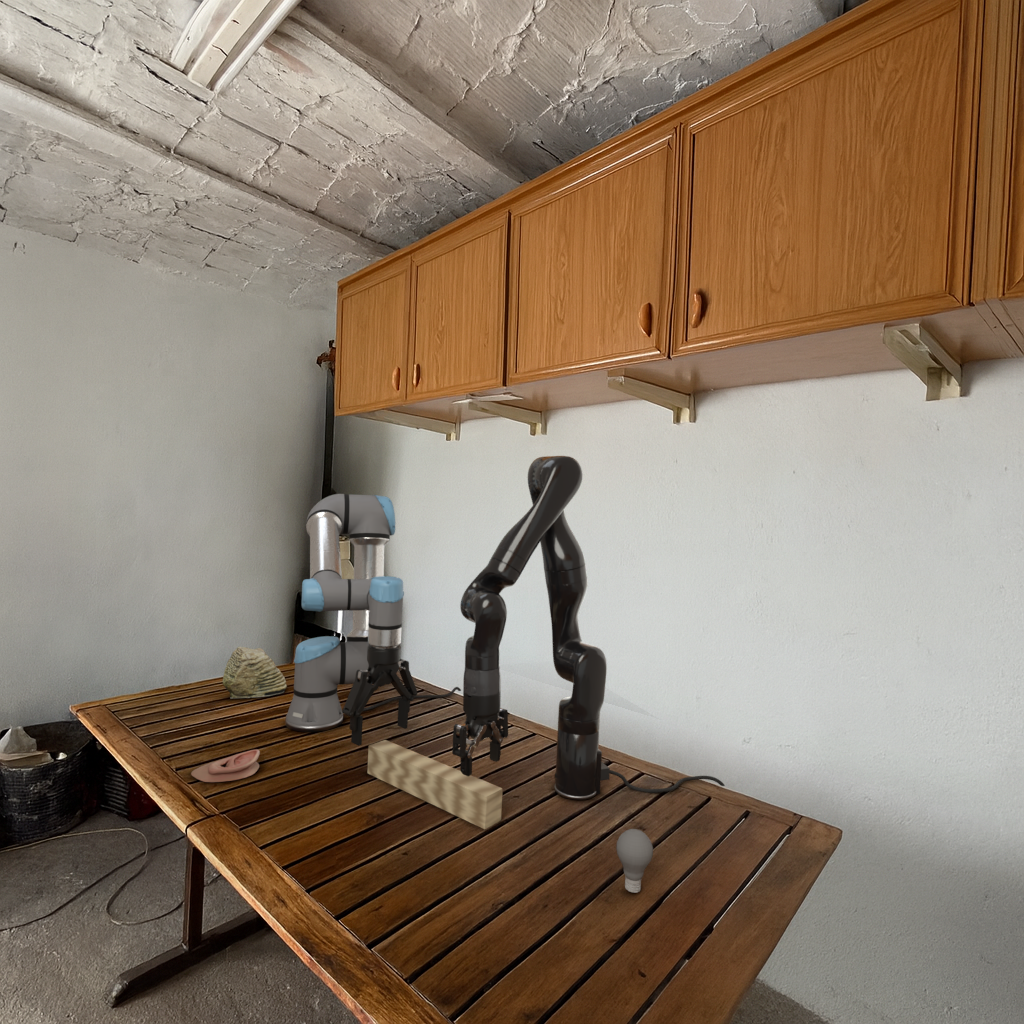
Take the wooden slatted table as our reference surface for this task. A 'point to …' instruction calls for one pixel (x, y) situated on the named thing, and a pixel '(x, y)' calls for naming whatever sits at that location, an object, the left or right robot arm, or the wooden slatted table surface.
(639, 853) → the light bulb
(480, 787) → the birch plank
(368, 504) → the left robot arm
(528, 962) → the wooden slatted table surface
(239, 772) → the anatomical model
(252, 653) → the fossil
